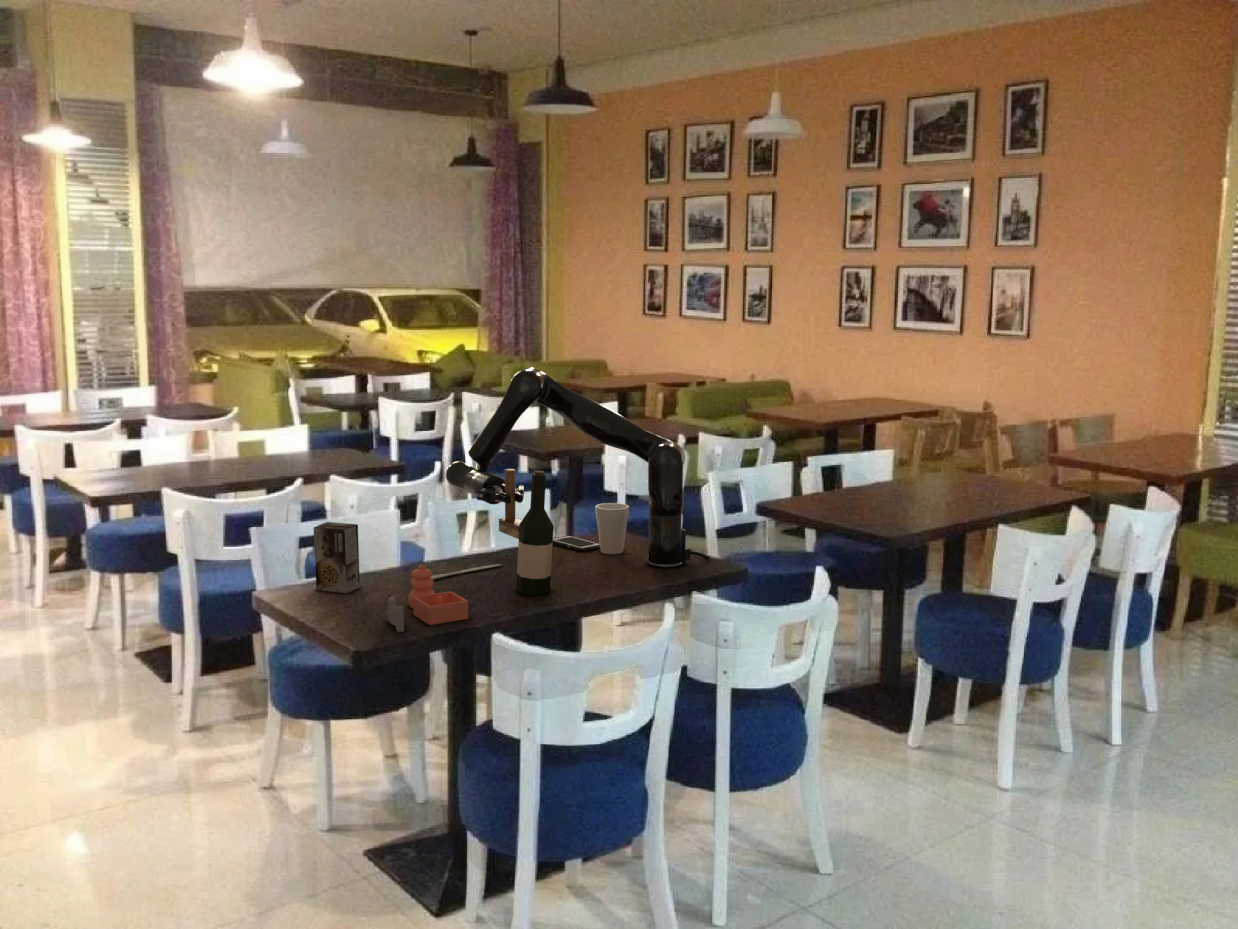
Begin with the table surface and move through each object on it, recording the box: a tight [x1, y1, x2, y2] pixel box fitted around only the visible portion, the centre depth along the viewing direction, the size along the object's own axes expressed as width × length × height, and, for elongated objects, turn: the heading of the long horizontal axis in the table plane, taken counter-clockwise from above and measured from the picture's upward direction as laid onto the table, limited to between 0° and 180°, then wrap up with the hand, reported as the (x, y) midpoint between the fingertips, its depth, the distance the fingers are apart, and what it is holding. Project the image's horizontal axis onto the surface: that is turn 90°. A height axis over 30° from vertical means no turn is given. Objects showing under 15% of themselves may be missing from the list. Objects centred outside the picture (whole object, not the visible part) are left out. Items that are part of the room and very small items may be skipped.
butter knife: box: [430, 564, 502, 581], centre depth 303 cm, size 1×24×3 cm
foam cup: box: [594, 502, 630, 555], centre depth 326 cm, size 10×9×13 cm
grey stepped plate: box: [386, 596, 405, 633], centre depth 258 cm, size 6×1×10 cm
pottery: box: [407, 563, 469, 626], centre depth 268 cm, size 18×10×10 cm, turn 33°
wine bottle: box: [515, 470, 555, 596], centre depth 284 cm, size 8×8×30 cm
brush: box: [498, 468, 523, 540], centre depth 290 cm, size 10×4×16 cm, turn 35°
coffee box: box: [312, 521, 361, 594], centre depth 285 cm, size 9×6×16 cm
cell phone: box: [553, 535, 600, 552], centre depth 334 cm, size 8×15×1 cm, turn 43°
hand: (515, 499), depth 290 cm, fingers closed on brush, 2 cm apart
